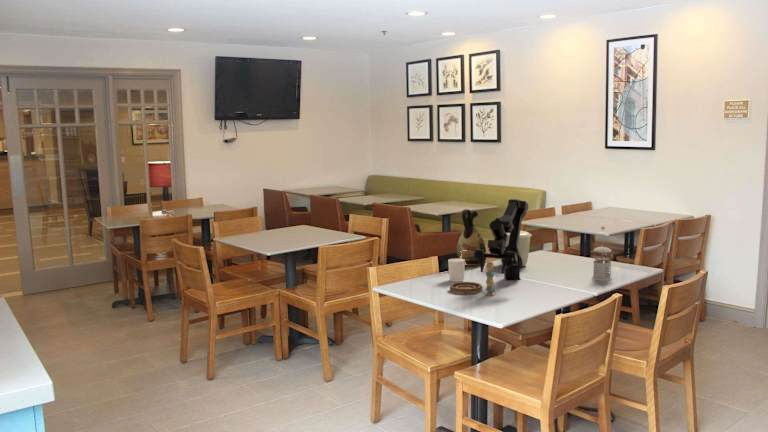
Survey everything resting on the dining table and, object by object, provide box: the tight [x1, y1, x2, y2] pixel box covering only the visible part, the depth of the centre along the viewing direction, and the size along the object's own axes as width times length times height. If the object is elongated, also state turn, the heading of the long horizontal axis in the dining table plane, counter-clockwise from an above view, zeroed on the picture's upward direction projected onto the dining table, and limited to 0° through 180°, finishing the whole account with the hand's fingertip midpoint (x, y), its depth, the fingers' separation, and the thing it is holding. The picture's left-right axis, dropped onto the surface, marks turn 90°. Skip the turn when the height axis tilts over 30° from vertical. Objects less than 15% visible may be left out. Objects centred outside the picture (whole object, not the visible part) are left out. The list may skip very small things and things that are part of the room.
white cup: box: [447, 257, 466, 283], centre depth 320 cm, size 8×8×10 cm
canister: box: [499, 230, 533, 267], centre depth 350 cm, size 18×18×21 cm
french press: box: [591, 226, 614, 282], centre depth 317 cm, size 10×12×25 cm
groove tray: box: [449, 281, 483, 295], centre depth 300 cm, size 14×14×2 cm
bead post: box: [484, 261, 495, 297], centre depth 291 cm, size 4×4×14 cm
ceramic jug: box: [456, 208, 487, 266], centre depth 355 cm, size 17×15×30 cm
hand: (491, 272), depth 292 cm, fingers open, 9 cm apart
